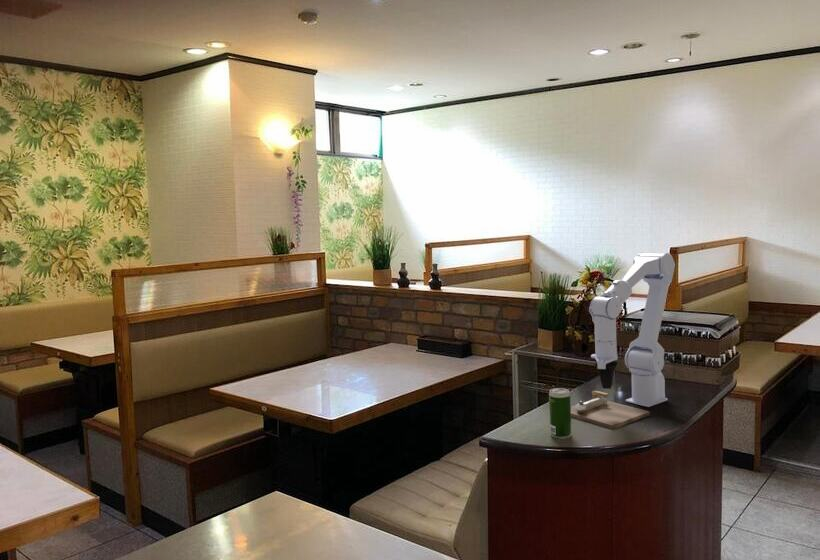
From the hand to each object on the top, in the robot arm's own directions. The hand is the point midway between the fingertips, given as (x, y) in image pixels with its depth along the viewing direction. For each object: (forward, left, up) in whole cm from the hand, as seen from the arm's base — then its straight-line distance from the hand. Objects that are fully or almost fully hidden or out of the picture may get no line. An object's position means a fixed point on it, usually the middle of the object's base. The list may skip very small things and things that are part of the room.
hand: (607, 387), depth 181 cm
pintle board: (0, -1, -8) cm, 8 cm away
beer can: (+21, +2, -8) cm, 22 cm away
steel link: (0, -5, -7) cm, 9 cm away
